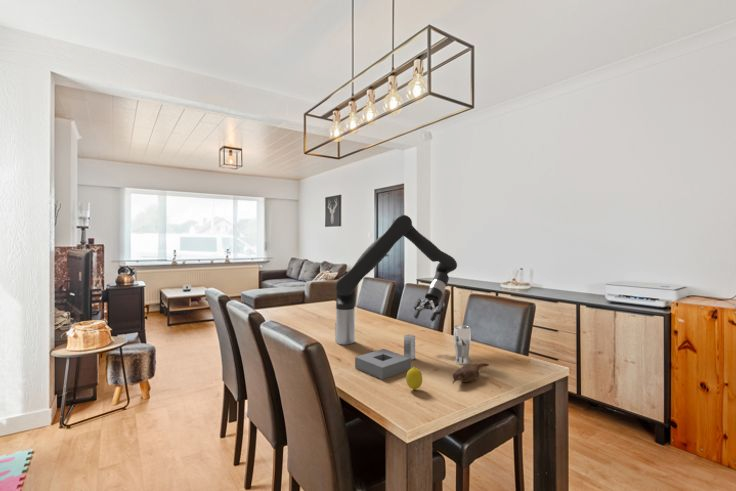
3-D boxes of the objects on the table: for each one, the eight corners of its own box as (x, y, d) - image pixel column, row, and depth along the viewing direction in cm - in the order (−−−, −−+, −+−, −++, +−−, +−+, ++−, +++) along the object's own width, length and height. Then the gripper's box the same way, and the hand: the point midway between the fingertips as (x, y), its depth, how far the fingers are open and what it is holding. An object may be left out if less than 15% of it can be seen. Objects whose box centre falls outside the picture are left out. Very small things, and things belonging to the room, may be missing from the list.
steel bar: (404, 358, 156) (404, 335, 156) (408, 356, 159) (408, 334, 159) (410, 360, 154) (410, 337, 154) (415, 358, 157) (415, 335, 156)
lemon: (404, 387, 126) (404, 364, 126) (420, 386, 127) (420, 364, 127) (407, 393, 121) (407, 370, 121) (424, 393, 121) (424, 369, 121)
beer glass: (471, 360, 153) (472, 326, 153) (469, 366, 147) (469, 329, 146) (455, 358, 156) (455, 324, 156) (452, 363, 150) (452, 328, 149)
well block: (355, 367, 145) (355, 356, 145) (383, 359, 156) (383, 348, 156) (382, 379, 133) (382, 367, 133) (411, 369, 144) (411, 358, 144)
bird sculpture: (494, 372, 140) (494, 360, 139) (460, 392, 122) (460, 377, 122) (479, 368, 144) (479, 356, 144) (443, 386, 127) (443, 372, 127)
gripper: (420, 285, 176) (407, 312, 167) (446, 287, 167) (434, 316, 158) (425, 294, 180) (413, 321, 172) (451, 297, 171) (440, 326, 162)
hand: (423, 319), depth 165 cm, fingers open, 8 cm apart
